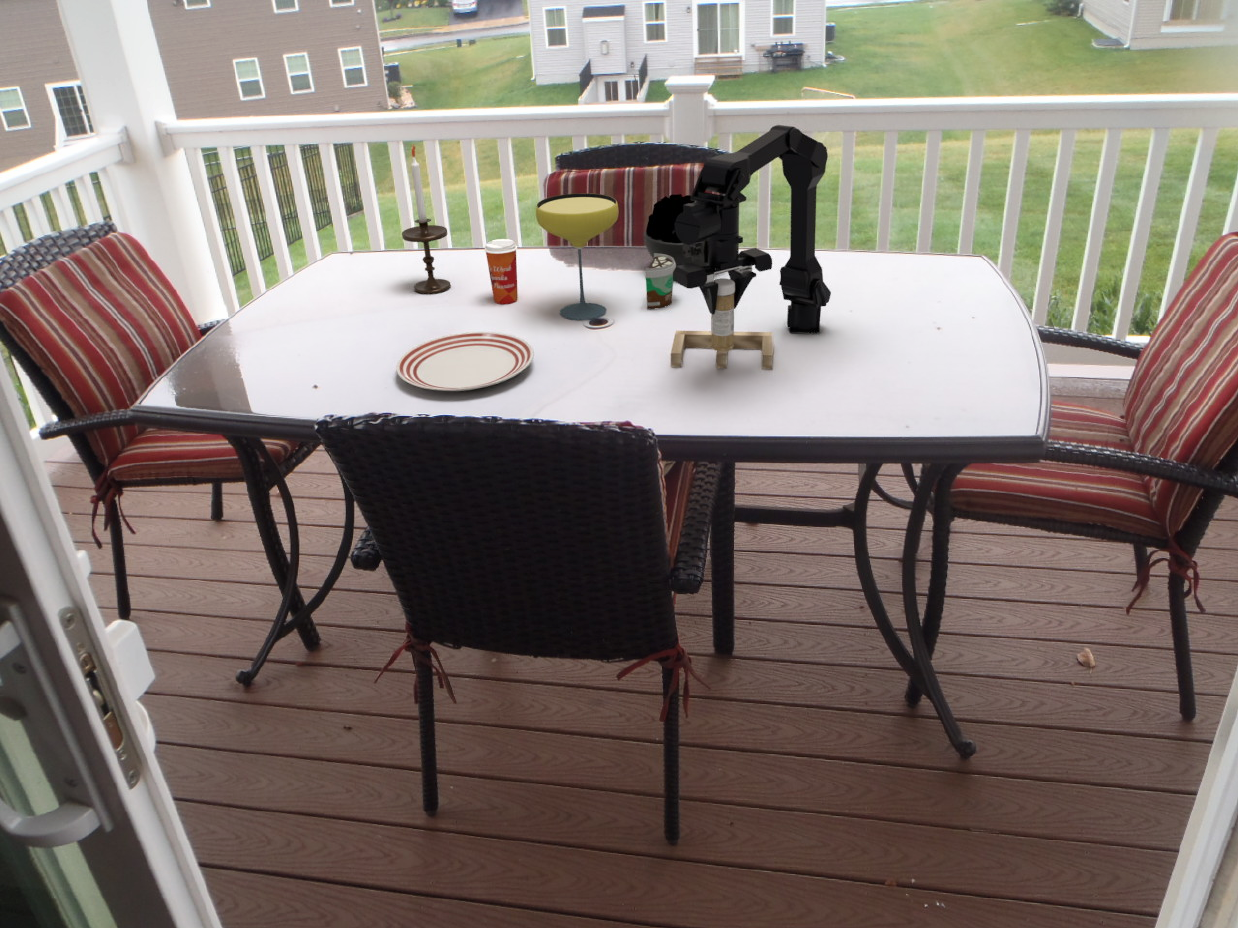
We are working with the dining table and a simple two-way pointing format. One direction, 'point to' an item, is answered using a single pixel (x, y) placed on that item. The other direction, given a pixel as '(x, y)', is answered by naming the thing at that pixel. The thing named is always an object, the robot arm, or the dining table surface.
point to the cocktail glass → (578, 234)
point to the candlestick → (425, 237)
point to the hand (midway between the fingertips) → (722, 311)
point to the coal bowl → (667, 230)
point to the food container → (659, 281)
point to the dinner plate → (465, 361)
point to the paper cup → (502, 270)
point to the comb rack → (740, 342)
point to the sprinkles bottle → (723, 316)
